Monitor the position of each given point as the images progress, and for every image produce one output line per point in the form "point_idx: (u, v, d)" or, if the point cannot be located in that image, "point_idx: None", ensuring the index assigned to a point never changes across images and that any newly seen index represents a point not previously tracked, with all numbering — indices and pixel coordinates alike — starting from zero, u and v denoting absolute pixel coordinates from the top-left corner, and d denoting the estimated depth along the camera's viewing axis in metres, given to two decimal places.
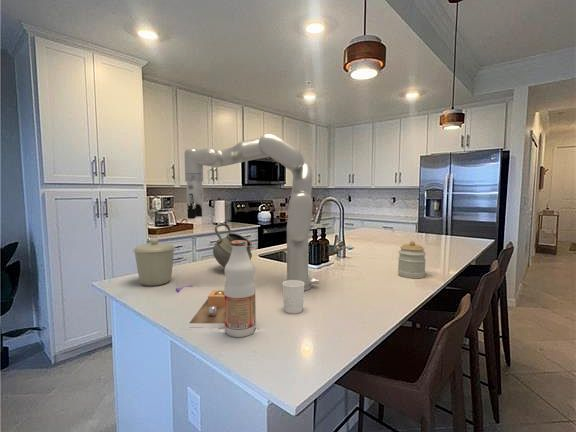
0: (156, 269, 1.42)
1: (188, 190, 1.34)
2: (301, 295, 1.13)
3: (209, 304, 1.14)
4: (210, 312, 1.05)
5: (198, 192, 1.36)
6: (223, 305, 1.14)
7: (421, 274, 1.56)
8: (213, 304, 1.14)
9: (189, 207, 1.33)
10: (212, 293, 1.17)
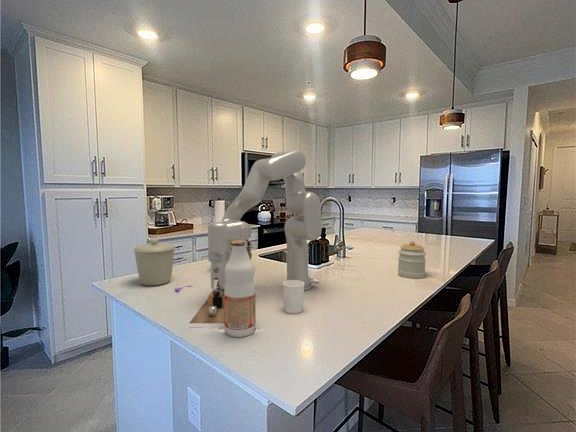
0: (156, 269, 1.42)
1: (213, 273, 1.12)
2: (301, 295, 1.13)
3: (209, 304, 1.14)
4: (210, 312, 1.05)
5: (224, 275, 1.13)
6: (223, 305, 1.14)
7: (421, 274, 1.56)
8: None
9: (215, 296, 1.12)
10: (212, 293, 1.17)
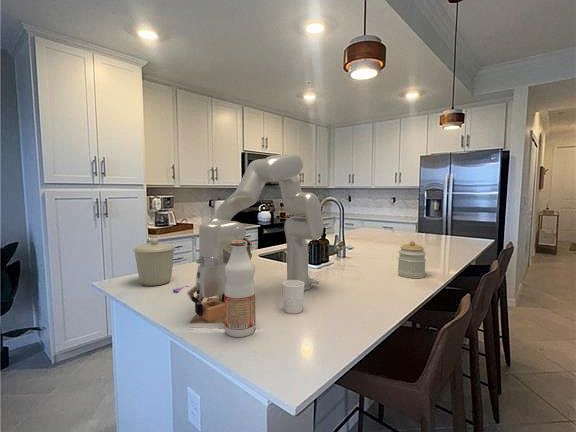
0: (156, 269, 1.42)
1: (197, 278, 1.03)
2: (301, 295, 1.13)
3: None
4: None
5: (207, 282, 1.01)
6: (206, 318, 1.03)
7: (421, 274, 1.56)
8: None
9: (193, 301, 1.02)
10: (207, 302, 1.08)
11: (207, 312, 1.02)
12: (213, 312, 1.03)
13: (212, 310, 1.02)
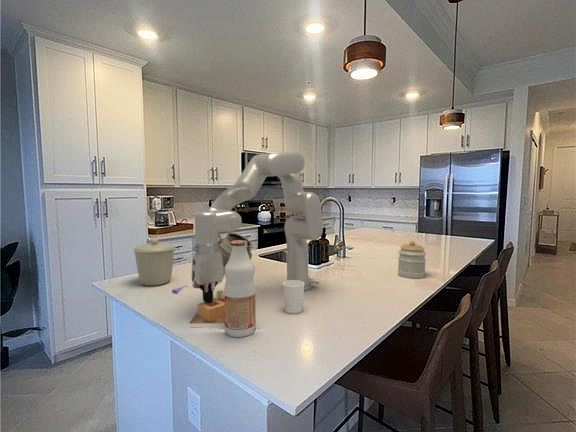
0: (156, 269, 1.42)
1: (192, 265, 1.05)
2: (301, 295, 1.13)
3: (198, 312, 1.06)
4: None
5: (202, 269, 1.03)
6: (206, 318, 1.03)
7: (421, 274, 1.56)
8: (200, 314, 1.05)
9: (201, 289, 1.06)
10: None
11: (207, 312, 1.02)
12: (213, 312, 1.03)
13: (212, 310, 1.02)
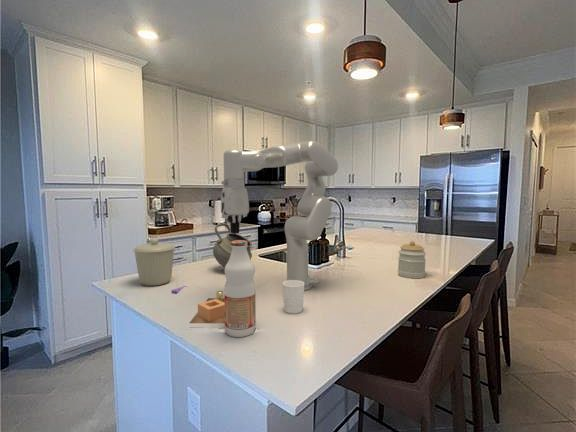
0: (156, 269, 1.42)
1: (221, 198, 1.17)
2: (301, 295, 1.13)
3: (198, 312, 1.06)
4: None
5: (231, 201, 1.15)
6: (206, 318, 1.03)
7: (421, 274, 1.56)
8: (200, 314, 1.05)
9: (229, 220, 1.19)
10: (207, 302, 1.08)
11: (207, 312, 1.02)
12: (213, 312, 1.03)
13: (212, 310, 1.02)
